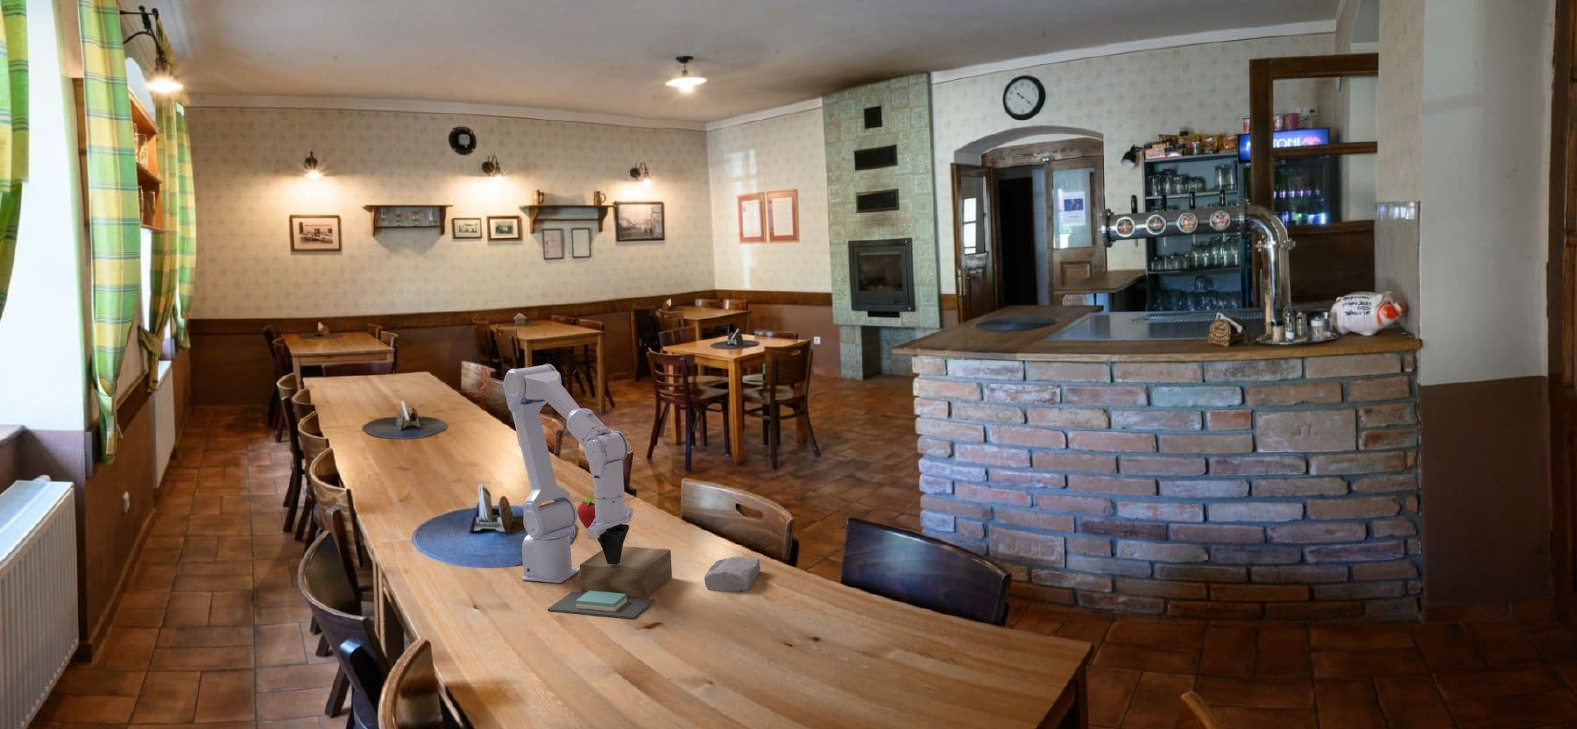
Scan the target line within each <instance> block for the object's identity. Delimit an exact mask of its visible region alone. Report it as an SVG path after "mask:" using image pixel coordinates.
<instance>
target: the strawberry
mask: <svg viewBox="0 0 1577 729" xmlns="http://www.w3.org/2000/svg"><path fill="white" fill-rule="evenodd" d="M593 495H594V492H592V493H591V496H590V498H582V501H579V503H580V504H579V505H578V506H577V509H576V510H577V517H578V519H579V520H580V522H581V524H582V525H583V527H584V528H585V529H586V530H587V528H589V527H590V526H591V524H592V523H593V521H594V519H595V518H596V516H595V500H594V498H593V499H592V496H593Z"/></svg>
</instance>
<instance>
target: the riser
mask: <svg viewBox="0 0 1577 729" xmlns="http://www.w3.org/2000/svg"><path fill="white" fill-rule="evenodd" d="M671 550H672V549H666V548H651V547H639V546H638V547H637V546H625V545H623V548H622V553H621V559H620V563H618V564H617V565H614V564H607V561H606V558H605V555H604V552H603V549H602V550H601V549H600V551H598V552H597V553H595V554H594V555H593V556H590V557H589V558H588V559H586V560H585V561H583V562H582V563H580V564H579V568H580V571H579V574H580V576H579V577H580V589H581V591H580V592H586V593H587V592H588V591H599V592H611V593H622V594H626V595H627V596H631V597H642V598H651V596H652V595H654V594H655V593H656V592H657V591H658V590H660V589H661V588H662V587H663V586H664V585H666V584H667V583H668V582H669V581H671V579H673V572H672V571H673V570H672V569H673V568H672V552H671Z"/></svg>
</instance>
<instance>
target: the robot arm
mask: <svg viewBox="0 0 1577 729" xmlns="http://www.w3.org/2000/svg"><path fill="white" fill-rule="evenodd" d="M502 386H503V390H504V391H503V392H504V395H505V399H506V400H505V401H506V404H507V407H508V410H509V411H510V412H511V413H512V419H513V422H514V426H515V429H516V435H517V438H518V441H519V442H518V443H519V447H520V450H521V454H522V458H523V464H524V466H525V467H524V468H525V469H526V475H527V479H528V482H529V486H530V491H531V492H530V494H529V495H528V496H527V497H526V499H525V500H524V501H523V503H522V505H521V506H522V511H523V527H524V529H525V531H526V532H527V535H526V536H525V537H524V539H523V540H522V541H523V542H522V545H521V555H522V567H523V568H522V570H523V576H522V577H521V580H522V581H533V582H543V583H544V582H545V583H553V584H554V583H555V584H556V583H558V584H562V583H564V582H565V581H567V580H568V579H570V578H572V576H574V575H575V574H577V573H579V572H580V567H574V566H573V564H572V563H573V562H572V549H571V535H570V533H572V532H573V527H574V526H575V525H576V524H577V520H578V513H577V510H578V509H577V508H576V506H575V504H574V502H573V500H572V497H571V496H570V492H569V491H568V490H566V489H565V488H563V487H561V486H559V485H558V484H557V478H556V475H555V470H554V467H553V463H552V459H551V455H550V451H549V448H548V443H547V439H546V435H545V431H544V428H543V424H542V419H541V415H540V412H541V410H542V408H543V406H545V405H546V404H547V403H548V405H550V406H551V407H552V408H553V409H554V410H555V411H556V412H558V413H559V415H561V416H562V418H564V419H565V420H566V429H567V431H568V432H569V433H570V434H571V435H572V436H573V437H574V438H575V439H576V440H577V441H578V442H579V444H580V445H581V446H582V447H583V448H584V451H583V453H584V456H585V459H586V461H587V463H588V466H589V472H590V474H591V475H592V481H593V483H592V484H593V495H594V496H593V497H594V498H593V500H595V516H596V518H595V519H594V521H593V523H592V524H591V526H590V527H589V528H587V529H586V531H587V539H593V540H595V539H596V540H597V542H598V543H599V545H600V546H601V549H602V550H603V552H604V555H605V558H606V561H607V564H614V565H617V564H618V563H620V559H621V553H622V548H623V546H624V542H625V539H626V536H627V534H628V532H629V531H630V525H629V524H628V523H629V522H631V521H632V518H633V516H634V512H633V509H634V508H633V507H632V506H626V502H625V500H626V499H625V485H624V484H625V483H624V482H625V481H624V466H623V460H625V459H626V458H627V456H628V452H629V447H628V446H629V444H628V441H627V439H626V436H624V435H623V433H622V432H621V431H619V430H613V429H611V428H608V427H607V426H606V425H605V424H604V423H603V422H602V421H601V420H600V419H599V418H598V417H597V415H595V414H594V412H593V410H591V409H589V408H585V407H583V408H581V407H580V406H579V405H578V403H577V402H576V401H575V399H574V398H573V397H572V396H571V394H570V393H569V392H568V390H567V389H566V388H565V387H564V386H563V385H562V376H561V373H560V372H559V371H557V368H555V366H554V365H552V364H550V363H545V364H543V365H536V366H530V367H523V368H511V369H509V370H507V372H506V374H505V377H504V380H503V383H502ZM550 501H552V502H550ZM546 502H549V503H546ZM543 503H544V504H543Z"/></svg>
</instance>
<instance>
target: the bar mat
mask: <svg viewBox="0 0 1577 729" xmlns="http://www.w3.org/2000/svg"><path fill="white" fill-rule="evenodd" d="M585 593H586V592H581V591H574V590H572V591H571V592H570V593H568V594H566V595H565V596H563V597H562V598H561V599H559V600H558V601H556V602H555V603H554V604H553V605H551V606H549V607H548V608H547V611H548V612H554V613H556V612H557V613H566V614H577V615H589V616H595V617H596V616H598V617H607V618H617V619H618V618H619V619H628V620H629V619H630V620H636V618H637V617H638V616H639V615H640V614H642V613H643V612H644V611H645V610H647V609H648V608H649V607H650V606H651V605H653V603H655V602H656V598H651V597H649V598H642V597H631V596H627V602H626V603H624V604H623V605H622V606H621V607H619V608H618V609H617V610H616V611H603V610H593V609H582V608H576V600H577V599H578V598H580V597H581V596H582V595H584V594H585Z"/></svg>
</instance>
